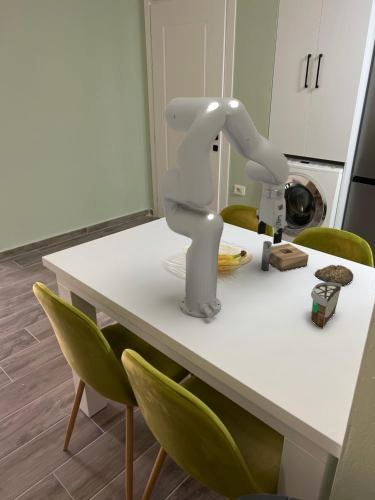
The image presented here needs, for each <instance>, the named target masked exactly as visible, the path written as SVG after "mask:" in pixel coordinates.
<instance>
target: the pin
mask: <svg viewBox="0 0 375 500" xmlns="http://www.w3.org/2000/svg"><path fill="white" fill-rule="evenodd" d="M272 244H273V241H270V240H265V241H263V243H262V254H261V265H260V270H261V271H262V272H269V271H270V255H271V246H273V245H272Z"/></svg>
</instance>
